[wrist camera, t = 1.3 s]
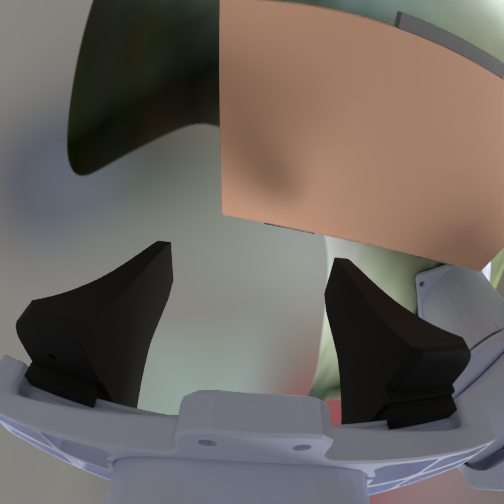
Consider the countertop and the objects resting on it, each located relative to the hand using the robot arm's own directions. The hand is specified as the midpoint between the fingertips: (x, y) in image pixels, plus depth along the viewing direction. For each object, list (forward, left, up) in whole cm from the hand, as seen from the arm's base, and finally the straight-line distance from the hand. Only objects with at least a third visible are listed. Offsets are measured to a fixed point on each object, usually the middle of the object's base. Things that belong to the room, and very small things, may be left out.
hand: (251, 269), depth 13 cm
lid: (+2, -9, -3) cm, 9 cm away
